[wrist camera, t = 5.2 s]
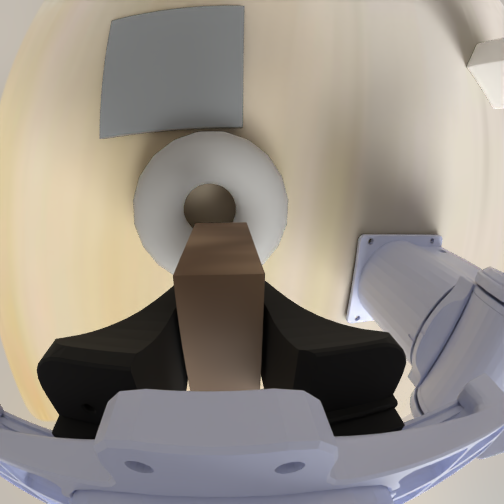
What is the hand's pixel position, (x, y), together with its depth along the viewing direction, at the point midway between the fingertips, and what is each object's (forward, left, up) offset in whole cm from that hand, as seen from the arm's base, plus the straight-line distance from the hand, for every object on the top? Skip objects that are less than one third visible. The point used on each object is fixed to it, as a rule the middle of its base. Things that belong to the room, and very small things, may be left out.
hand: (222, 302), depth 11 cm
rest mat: (+4, -13, -9) cm, 16 cm away
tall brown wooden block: (0, 0, -2) cm, 2 cm away
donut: (+5, +1, -7) cm, 8 cm away
